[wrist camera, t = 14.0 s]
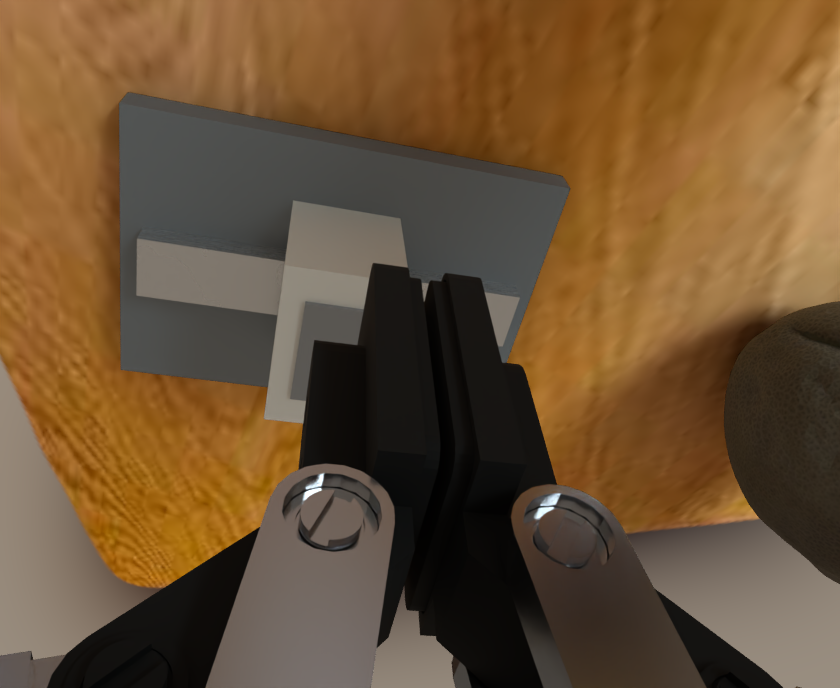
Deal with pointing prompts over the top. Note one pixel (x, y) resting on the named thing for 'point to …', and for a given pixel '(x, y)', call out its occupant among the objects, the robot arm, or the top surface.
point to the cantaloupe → (791, 431)
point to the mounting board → (271, 213)
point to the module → (323, 292)
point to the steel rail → (251, 275)
